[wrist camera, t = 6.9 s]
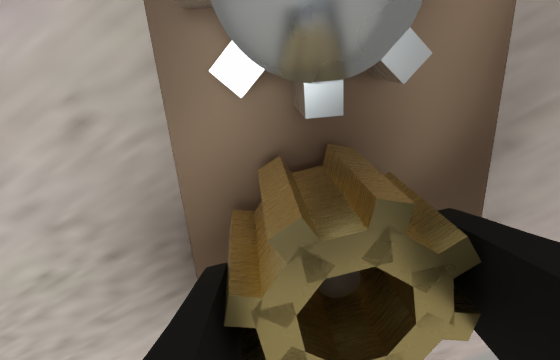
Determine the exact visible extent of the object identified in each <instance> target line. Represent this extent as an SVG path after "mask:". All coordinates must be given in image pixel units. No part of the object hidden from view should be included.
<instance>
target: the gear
mask: <svg viewBox="0 0 560 360" xmlns="http://www.w3.org/2000/svg"><path fill="white" fill-rule="evenodd" d="M171 1H172V2H174V3H175V4H177V5H179V6H180V7H182V8H183V9H190V8H205V7H213V8H214V10H215V13H216V15H217V17H218V19H219V21H220V23H221V25H222V26H223V28H224V30H225V31H226V33H227V34H228V36H229V37H230V38H231V40H232V41H231V42H230V44H229V45H228V46H227V48H226V49H225V50H224V52H223V53H222V54H221V56H220V57H219V58H218V59H217V61H216V62H215V63H214V65H213V66H212V67H211V69H210V70H209V72H210V73H212V74H213V75H214V76H215V77H216V78H218V79H219V80H220V81H221V82H222V83H224V84H225V85H226V86H227V87H228V88H229V89H231V90H232V91H233V92H234V93H235V94H237V95H238V96H239V97H240V98H242V97H243V96H244V95H245V93H246V92H247V91H248V90H249V88H250V87H251V86H252V85H253V84H254V82H255V81H256V80H257V79H258V77H259V76H260V75H261V74H262V72H263V71H264V70H266V71H268V72H270V73H272V74H274V75H277V76H279V77H281V78H284V79H288V80H291V81H292V83H293V101H294V106H295V107H296V109H297V110H298V111H299V112H300V113H301V114H302V115H303V117H304V118H305V119H310V118H321V117H331V116H342V115H343V79H347V78H350V77H352V76H355V75H357V74H359V73H361V72H363V71H365V70H367V71H368V72H369V73H370V74H371V75H372V76H373V77H374V78H379V79H383V80H387V81H392V82H396V83H400V84H405V82H406V81H407V80H408V79H409V78H410V77H411V76H412V75H413V74H414V73H415V72H416V71H417V69H418V68H419V67H420V66H421V65H422V64H423V63H424V62H425V61H426V60H427V59H428V58H429V56H430V55H431V54H432V51H431V50H430V49H429V48H428V47H427V46H426V45H425V44H424V42H423V41H422V40H421V39H420V38H419V37H418V36H417V34H416V33H415V32H414V31H413V30H412V29H411V28H410V26H411V24H412V23H413V21H414V19H415V17H416V15H417V13H418V11H419V9H420V7H421V5H422V2H423V0H171Z"/></svg>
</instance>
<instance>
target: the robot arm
mask: <svg viewBox="0 0 560 360" xmlns="http://www.w3.org/2000/svg"><path fill="white" fill-rule="evenodd" d="M438 212H439V213H440V214H441V215H443V216H444V217H445V218H446V219H447V220H449V221H450V222H451V223H452V224H453V225H455V226H456V227H457V228H458V229H459V230H461V231H462V232H463V233H464V234H465V235H467V236H468V238H469V240H470V242H471V244H472V245H473V247H474V249H475V251H476V253H477V255H478V256H479V258H480V260H481V263H479V264H477V265H476V266H474V267H472V268H471V269H469V270H467V271H466V272H464V273H462V274H461V275H459V276H457V277H456V278H454V279H453V283H454V285H455V286H456V287H457V288H458V289H459V291H460V292H461V293H462V294H463V295H464V296H465V297H466V298H467V299H468V301H469V302H470V303H471V304H472V305H473V306H474V307H475V308H476V309H477V311H478V312H479V313H480V314H481V315H480V317H479V319H478V321H477V324H476V326H475V328H474V330H475V331H476V333H477V334H478V335H479V336H480V337H481V339H482V340H483V341H484V342H485V343H486V345H487V346H488V347H489V348H490V349H491V350H492V352H493V353H494V354H495V355H496V356H497V358H498V359H499V360H560V242H556V241H553V240H550V239H546V238H543V237H540V236H536V235H533V234H530V233H527V232H524V231H521V230H518V229H515V228H512V227H509V226H506V225H503V224H500V223H497V222H494V221H491V220H488V219H485V218H482V217H479V216H476V215H473V214H470V213H466V212H463V211H460V210H456V209H452V208H446V209H442V210H438ZM227 264H228V263H227V262H226V263H222V264H218V265H214V266H209V267H206V268H205V270H204V271H203V273H202V274H201V276H200V277H199V279H198V280H197V282H196V283H195V285H194V287H193V288H192V290H191V291H190V293H189V295H188V296H187V298H186V299H185V301H184V302H183V304H182V305H181V307H180V308H179V310H178V311H177V313H176V314H175V316H174V317H173V319H172V320H171V322H170V323H169V325H168V326H167V328H166V329H165V330H164V332H163V333H162V334H161V336H160V337H159V338H158V340H157V341H156V342H155V344H154V345H153V347H152V348H151V349H150V351H149V352H148V353H147V355H146V356H145V357H144V358H143V360H241V327H229V326H224V316H225V299H226V282H227Z"/></svg>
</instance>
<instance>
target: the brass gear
mask: <svg viewBox="0 0 560 360" xmlns="http://www.w3.org/2000/svg"><path fill="white" fill-rule="evenodd" d="M258 177H259V184H260V191H261V198H262V201H261V203H260V204H259V206H258V207H257V209H256V210H255V212H252V211H243V210H234V209H233V211H232V218H231V224H230V231H229V247H228V264H227V282H226V299H225V316H224V326H229V327H241V360H423V359H424V358H425V357H426V356H427V355H428V354H429V353H430V352H431V351H432V350H433V349H434V348H435V347H436V346H437V344H438V343H439V342H440V341H441V340H442V339H445V340H462V341H468V340H469V338H470V336H471V334H472V332H473V330H474V328H475V326H476V324H477V321H478V319H479V317H480V315H481V314H480V313H479V312H478V311H477V309H476V308H475V307H474V306H473V305H472V304H471V303H470V302H469V301H468V299H467V298H466V297H465V296H464V295H463V294H462V293H461V292H460V291H459V289H458V288H457V287H456V286H455V285H454V283H453V279H454V278H456V277H457V276H459V275H461V274H462V273H464V272H466V271H467V270H469V269H471V268H472V267H474V266H476V265H477V264H479V263H481V260H480V258H479V256H478V255H477V253H476V251H475V249H474V247H473V245H472V244H471V242H470V240H469V238H468V236H467V235H465V234H464V233H463V232H462V231H461V230H459V229H458V228H457V227H456V226H455V225H453V224H452V223H451V222H450V221H449V220H447V219H446V218H445V217H444V216H443V215H441V214H440V213H439V212H438V211H437V210H435V209H434V208H433V207H432V206H431V205H429V204H428V203H427V202H426V201H425V200H423V199H422V198H421V197H420V196H419V195H417V194H416V193H415V192H414V191H413V190H411V189H410V188H409V187H408V186H407V185H405V184H404V183H403V182H402V181H401V180H399V179H398V178H397V177H396V176H395V175H393V174H392V173H391V172H390V171H389V172H388V173H386V174H385V175H383V174H382V173H381V172H380V171H378V170H377V169H376V168H375V167H374V166H373V165H372V164H371V163H369V162H368V161H367V160H366V159H365V158H364V157H363V156H362V155H361V154H359V153H358V152H357V151H356V150H355V149H354V148H351V147H345V146H338V145H332V144H328V145H327V149H326V153H325V158H324V162H323V165H322V166H318V167H314V168H310V169H306V170H302V171H297V172H293V173H292V172H291V170H290V169H289V168H288V166H287V165H286V164H285V162H284V161H283V160H282V158H281V157H280V156H278V157H276V158H275V159H274V160H272V161H271V162H269V163H268V164H266V165H265V166H264V167H262V168H261V169H259V170H258ZM355 271H360V274H361V280H360V283H359V285H358V287H357V288H356V289H355V290H354V291H353V292H352V293H351V294H349V295H347V296H344V297H340V298H331V297H328V296H326V295H324V294H323V293H321V292H320V290H319V288H318V287H319V286H320V285H321V284H322V282H323V281H324V280H325V279H327V278H331V277H335V276H339V275H343V274H347V273H351V272H355Z"/></svg>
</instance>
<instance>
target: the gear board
mask: <svg viewBox="0 0 560 360" xmlns="http://www.w3.org/2000/svg"><path fill="white" fill-rule="evenodd" d="M144 5H145V10H146V16H147V21H148V26H149V31H150V36H151V41H152V47H153V52H154V57H155V62H156V67H157V73H158V78H159V83H160V88H161V93H162V98H163V104H164V109H165V114H166V119H167V124H168V129H169V135H170V140H171V145H172V150H173V155H174V160H175V166H176V171H177V176H178V181H179V186H180V191H181V197H182V202H183V207H184V212H185V217H186V222H187V228H188V233H189V238H190V243H191V248H192V254H193V259H194V264H195V269H196V274H197V279H199V277H200V276H201V274H202V273H203V271H204V270H205V268H206V267H209V266H214V265H218V264H222V263H226V262H227V263H228V247H229V231H230V224H231V218H232V211H233V209H234V210H243V211H252V212H255V210H256V209H257V207H258V206H259V204H260V203H261V201H262V198H261V191H260V184H259V177H258V170H259V169H261V168H262V167H264V166H265V165H266V164H268V163H269V162H271V161H272V160H274V159H275V158H276V157H278V156H280V157H281V158H282V160H283V161H284V162H285V164H286V165H287V166H288V168H289V169H290V170H291V172H292V173H293V172H297V171H302V170H306V169H310V168H314V167H318V166H322V165H323V162H324V158H325V153H326V149H327V145H328V144H332V145H338V146H345V147H351V148H354V149H355V150H356V151H357V152H358V153H359V154H361V155H362V156H363V157H364V158H365V159H366V160H367V161H368V162H369V163H371V164H372V165H373V166H374V167H375V168H376V169H377V170H378V171H380V172H381V173H382V174H383V175H385V174H386V173H388V172H389V171H390V172H391V173H392V174H393V175H395V176H396V177H397V178H398V179H399V180H401V181H402V182H403V183H404V184H405V185H407V186H408V187H409V188H410V189H411V190H413V191H414V192H415V193H416V194H417V195H419V196H420V197H421V198H422V199H423V200H425V201H426V202H427V203H428V204H429V205H431V206H432V207H433V208H434V209H435V210H437V211H438V210H442V209H446V208H452V209H456V210H460V211H463V212H466V213H470V214H473V215H476V216H479V217H482V211H483V205H484V198H485V192H486V186H487V180H488V173H489V167H490V161H491V155H492V149H493V142H494V136H495V130H496V124H497V118H498V111H499V105H500V99H501V93H502V86H503V80H504V74H505V68H506V62H507V55H508V49H509V43H510V37H511V30H512V24H513V18H514V12H515V6H516V0H423V2H422V5H421V7H420V9H419V11H418V13H417V15H416V17H415V19H414V21H413V23H412V24H411V26H410V28H411V29H412V30H413V31H414V32H415V33H416V34H417V36H418V37H419V38H420V39H421V40H422V41H423V42H424V44H425V45H426V46H427V47H428V48H429V49H430V50H431V51H432V54H431V55H430V56H429V58H428V59H427V60H426V61H425V62H424V63H423V64H422V65H421V66H420V67H419V68H418V69H417V71H416V72H415V73H414V74H413V75H412V76H411V77H410V78H409V79H408V80H407V81H406V82H405V84H400V83H396V82H392V81H387V80H383V79H379V78H374V77H373V76H372V75H371V74H370V73H369V72H368V71H367V70H365V71H363V72H361V73H359V74H357V75H355V76H352V77H350V78H347V79H343V115H342V116H331V117H321V118H310V119H305V118H304V117H303V115H302V114H301V113H300V112H299V111H298V110H297V109H296V107H295V106H294V101H293V83H292V81H291V80H288V79H284V78H281V77H279V76H277V75H274V74H272V73H270V72H268V71H266V70H264V71H263V72H262V74H261V75H260V76H259V77H258V79H257V80H256V81H255V82H254V84H253V85H252V86H251V87H250V88H249V90H248V91H247V92H246V93H245V95H244V96H243V97H242V98H240V97H239V96H238V95H237V94H235V93H234V92H233V91H232V90H231V89H229V88H228V87H227V86H226V85H225V84H224V83H222V82H221V81H220V80H219V79H218V78H216V77H215V76H214V75H213V74H212V73H210V72H209V70H210V69H211V67H212V66H213V65H214V63H215V62H216V61H217V59H218V58H219V57H220V56H221V54H222V53H223V52H224V50H225V49H226V48H227V46H228V45H229V44H230V42H231V41H232V40H231V38H230V37H229V36H228V34H227V33H226V31H225V30H224V28H223V26H222V25H221V23H220V21H219V19H218V17H217V15H216V13H215V10H214V8H213V7H205V8H190V9H183V8H182V7H180V6H179V5H177V4H175V3H174V2H172V1H171V0H144ZM360 280H361V274H360V271H355V272H351V273H347V274H343V275H339V276H335V277H331V278H327V279H325V280H324V281H323V282H322V284H321V285H320V286H319V287H318V288H319V290H320V292H321V293H323V294H324V295H326V296H328V297H331V298H340V297H344V296H347V295H349V294H351V293H352V292H353V291H354V290H355V289H356V288H357V287H358V285H359V283H360Z"/></svg>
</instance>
